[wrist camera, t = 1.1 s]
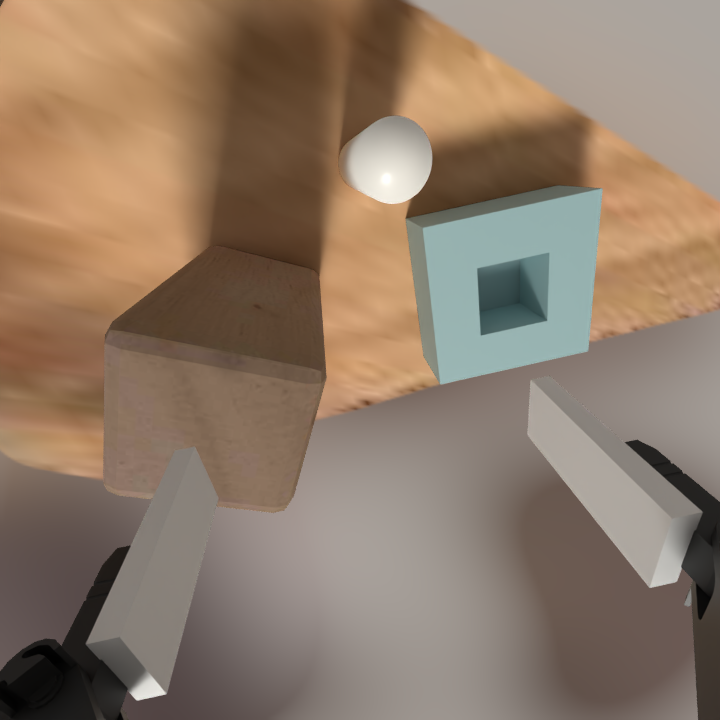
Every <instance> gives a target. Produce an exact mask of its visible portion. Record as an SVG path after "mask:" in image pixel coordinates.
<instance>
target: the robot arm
mask: <svg viewBox="0 0 720 720" xmlns="http://www.w3.org/2000/svg"><path fill="white" fill-rule="evenodd" d="M2 2H3V0H0V6H1V4H2ZM527 435H528V436H529V438H530V439H531V440H532V441H533V443H534V444H535V445H536V446H537V448H538V449H539V450H540V451H541V452H542V454H543V455H544V456H545V457H546V459H547V460H548V461H549V463H550V464H551V465H552V466H553V468H554V469H555V470H556V471H557V473H558V474H559V475H560V476H561V478H562V479H563V480H564V481H565V483H566V484H567V485H568V486H569V488H570V489H571V490H572V491H573V493H574V494H575V495H576V496H577V498H578V499H579V500H580V501H581V502H582V504H583V505H584V506H585V507H586V509H587V510H588V511H589V513H590V514H591V515H592V516H593V518H594V519H595V520H596V521H597V523H598V524H599V525H600V526H601V528H602V529H603V530H604V531H605V533H606V534H607V535H608V536H609V538H610V539H611V540H612V541H613V543H614V544H615V545H616V546H617V548H618V549H619V550H620V551H621V553H622V554H623V555H624V556H625V558H626V559H627V560H628V561H629V563H630V564H631V565H632V566H633V568H634V569H635V570H636V571H637V573H638V574H639V575H640V576H641V578H642V579H643V580H644V581H645V582H646V584H647V585H648V586H649V588H651V587H655V586H660V585H664V584H668V583H674V582H677V579H678V577H679V574H680V571H681V569H682V568H683V569H684V570H685V572H686V573H687V574H688V575H689V576H690V577H691V578H692V579H693V582H692V584H691V587H690V589H689V592H688V594H687V597H686V600H685V603H684V605H686V606H690V604H691V602H692V616H693V635H694V652H695V670H696V689H697V707H698V720H720V502H719V501H718V500H717V499H715V498H714V497H713V496H712V495H710V494H709V493H708V492H707V491H705V489H703V488H702V487H701V486H700V485H699V484H697V483H696V482H695V481H694V480H692V479H691V478H690V477H689V476H688V475H686V474H683V472H682V470H680V469H679V468H678V467H677V466H676V465H674V464H671V462H670V460H668V459H667V458H666V457H665V456H664V455H662V454H661V453H660V452H659V451H658V450H656V449H655V448H653V447H651V446H649V445H646V444H644V443H642V442H640V441H638V440H634V441H629V442H623V441H622V440H621V439H620V438H619V437H618V436H616V434H615V433H613V432H612V431H611V430H610V429H609V428H608V427H607V426H606V425H604V424H603V423H602V422H601V421H600V420H598V418H597V417H595V416H594V415H593V414H592V413H591V412H590V411H589V410H588V409H586V408H585V407H584V406H583V405H582V404H581V403H580V402H578V401H577V400H576V399H575V398H574V397H573V396H572V395H571V394H570V393H569V392H567V391H566V390H565V389H564V388H563V387H562V386H561V385H560V384H558V383H557V382H556V381H555V380H554V379H553V378H552V377H551V376H546V377H541V378H536V379H532V380H531V385H530V402H529V419H528V434H527ZM218 499H219V498H218V496H217V493H216V491H215V489H214V487H213V485H212V483H211V480H210V478H209V476H208V474H207V472H206V470H205V467H204V465H203V463H202V461H201V459H200V457H199V454H198V452H197V450H196V448H195V447H191V448H186V449H181V450H176V451H174V453H173V456H172V458H171V460H170V462H169V464H168V466H167V469H166V471H165V473H164V475H163V477H162V479H161V482H160V484H159V486H158V488H157V490H156V492H155V495H154V497H153V499H152V501H151V503H150V505H149V508H148V510H147V512H146V514H145V517H144V519H143V521H142V523H141V525H140V527H139V530H138V532H137V534H136V536H135V538H134V540H133V542H132V545H131V546H126V547H121V548H117V549H116V550H115V551H114V553H113V554H112V555H111V556H110V557H109V558H108V559H107V561H106V562H105V563H104V564H103V565H102V567H101V569H100V571H99V573H98V575H97V577H96V579H95V581H94V586H92V587H91V589H90V591H89V593H88V595H87V599H86V601H84V603H83V605H82V607H81V609H80V611H79V613H78V615H77V617H76V618H75V620H74V623H73V624H72V627H71V628H70V630H69V632H68V634H67V636H66V638H65V640H64V642H63V644H62V646H61V645H60V644H59V643H58V642H57V641H56V640H54V639H43V640H40V641H37V642H34V643H33V644H31V645H29V646H28V647H26V648H24V649H22V650H21V651H20V652H19V653H18V654H16V655H15V656H14V657H13V658H12V659H11V660H10V661H9V662H7V664H6V665H5V666H4V667H3V669H2V670H1V671H0V720H128V717H127V714H126V712H125V711H124V710H123V709H122V708H121V707H122V704H123V702H124V699H125V695H126V692H127V690H128V691H129V692H130V693H131V694H132V696H133V697H134V698H135V699H136V700H141V699H146V698H151V697H155V696H160V695H164V694H167V690H168V687H169V683H170V679H171V675H172V671H173V668H174V664H175V660H176V656H177V653H178V649H179V645H180V641H181V638H182V634H183V630H184V626H185V622H186V619H187V615H188V611H189V607H190V604H191V600H192V596H193V593H194V589H195V585H196V581H197V577H198V574H199V570H200V566H201V562H202V558H203V555H204V551H205V547H206V544H207V540H208V536H209V532H210V529H211V525H212V521H213V517H214V514H215V510H216V506H217V502H218Z"/></svg>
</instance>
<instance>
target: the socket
mask: <svg viewBox="0 0 720 720" xmlns="http://www.w3.org/2000/svg"><path fill="white" fill-rule="evenodd" d="M601 200H602V188H589V187H575V186H560V185H557V186H552V187H548V188H543V189H539V190H534V191H530V192H525V193H520V194H516V195H511V196H507V197H502V198H498V199H493V200H489V201H484V202H479V203H475V204H470V205H466V206H461V207H457V208H452V209H447V210H443V211H438V212H434V213H429V214H425V215H420V216H416V217H411V218H406V226H407V233H408V241H409V249H410V256H411V264H412V272H413V279H414V287H415V295H416V302H417V310H418V318H419V325H420V333H421V341H422V348H423V356H424V358H425V359H426V361H427V363H428V365H429V366H430V368H431V370H432V371H433V373H434V375H435V376H436V378H437V380H438V381H439V383H440V384H444V383H449V382H453V381H458V380H462V379H467V378H471V377H476V376H480V375H484V374H489V373H493V372H498V371H502V370H506V369H511V368H516V367H520V366H524V365H529V364H533V363H538V362H542V361H547V360H551V359H555V358H560V357H564V356H569V355H573V354H578V353H582V352H587V351H588V346H589V335H590V324H591V313H592V301H593V290H594V279H595V267H596V256H597V245H598V234H599V222H600V211H601Z"/></svg>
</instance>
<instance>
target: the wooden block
mask: <svg viewBox="0 0 720 720" xmlns="http://www.w3.org/2000/svg"><path fill="white" fill-rule="evenodd" d="M325 381H326V364H325V350H324V335H323V321H322V307H321V293H320V281H319V275H318V273H316V272H315V271H313V270H312V269H309V268H305V267H301V266H297V265H294V264H290V263H286V262H282V261H278V260H274V259H270V258H266V257H262V256H258V255H254V254H250V253H246V252H242V251H238V250H234V249H230V248H226V247H222V246H212V247H209V248H207V249H206V250H205V251H204V252H202V253H201V254H200V255H198V256H197V257H196V258H195V259H193V260H192V261H191V262H189V263H188V264H187V265H185V266H184V267H183V268H182V269H180V270H179V271H178V272H176V273H175V274H174V275H172V276H171V277H170V278H169V279H167V280H166V281H165V282H163V283H162V284H161V285H160V286H158V287H157V288H156V289H154V290H153V291H152V292H150V293H149V294H148V295H147V296H145V297H144V298H143V299H141V300H140V301H139V302H137V303H136V304H135V305H134V306H132V307H131V308H130V309H128V310H127V311H126V312H125V313H123V314H122V315H121V316H119V317H118V318H117V319H115V320H114V321H113V322H112V324H111V325H110V327H109V329H108V331H107V332H106V334H105V367H104V468H103V484H104V485H105V487H106V489H107V490H108V491H110V492H112V493H114V494H116V495H120V496H128V497H136V498H145V499H153V497H154V495H155V492H156V490H157V488H158V486H159V484H160V482H161V479H162V477H163V475H164V473H165V471H166V469H167V466H168V464H169V462H170V460H171V458H172V456H173V453H174V451H176V450H181V449H186V448H191V447H195V448H196V450H197V452H198V454H199V457H200V459H201V461H202V463H203V465H204V467H205V470H206V472H207V474H208V476H209V478H210V480H211V483H212V485H213V487H214V489H215V491H216V493H217V496H218V498H219V499H218V502H217V507H226V508H235V509H244V510H253V511H262V512H271V513H274V512H279V511H284V510H285V508H286V507H287V506H288V504H289V503H290V501H291V499H292V498H293V496H294V493H295V490H296V486H297V482H298V479H299V475H300V472H301V468H302V464H303V460H304V457H305V454H306V450H307V446H308V443H309V439H310V435H311V432H312V428H313V425H314V421H315V417H316V414H317V410H318V406H319V403H320V399H321V396H322V392H323V388H324V385H325Z"/></svg>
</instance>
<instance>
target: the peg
mask: <svg viewBox="0 0 720 720" xmlns="http://www.w3.org/2000/svg"><path fill="white" fill-rule="evenodd" d="M338 167H339V172H340V175H341V177H342V179H343V180H344V182H345V183H346V184H347V185H349V186H350V187H352V188H353V189H355V190H357V191H360V192H362V193H364V194H366V195H368V196H370V197H372V198H374V199H376V200H378V201H380V202H383V203H388V204H396V203H401V202H405V201H407V200H409V199H411V198H412V197H414V196H415V195H416V194H417V193H418V192H419V191H420V190H421V189H422V188H423V186H424V185H425V183H426V181H427V179H428V177H429V174H430V171H431V167H432V150H431V145H430V142H429V139H428V137H427V135H426V134H425V132H424V131H423V129H422V128H421V127H420V126H419V125H418V124H417V123H415V122H414V121H412V120H410V119H409V118H406V117H402V116H388V117H384V118H382V119H379V120H377V121H376V122H374V123H373V124H371V125H370V126H369V127H367V128H366V129H365V130H363V131H362V132H361V133H359V134H358V135H356V136H355V137H354V138H352V139H351V140H350V141H348V142H347V143H346V144H345V145H344V147H343V148H342V150H341V152H340V155H339V160H338Z"/></svg>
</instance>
